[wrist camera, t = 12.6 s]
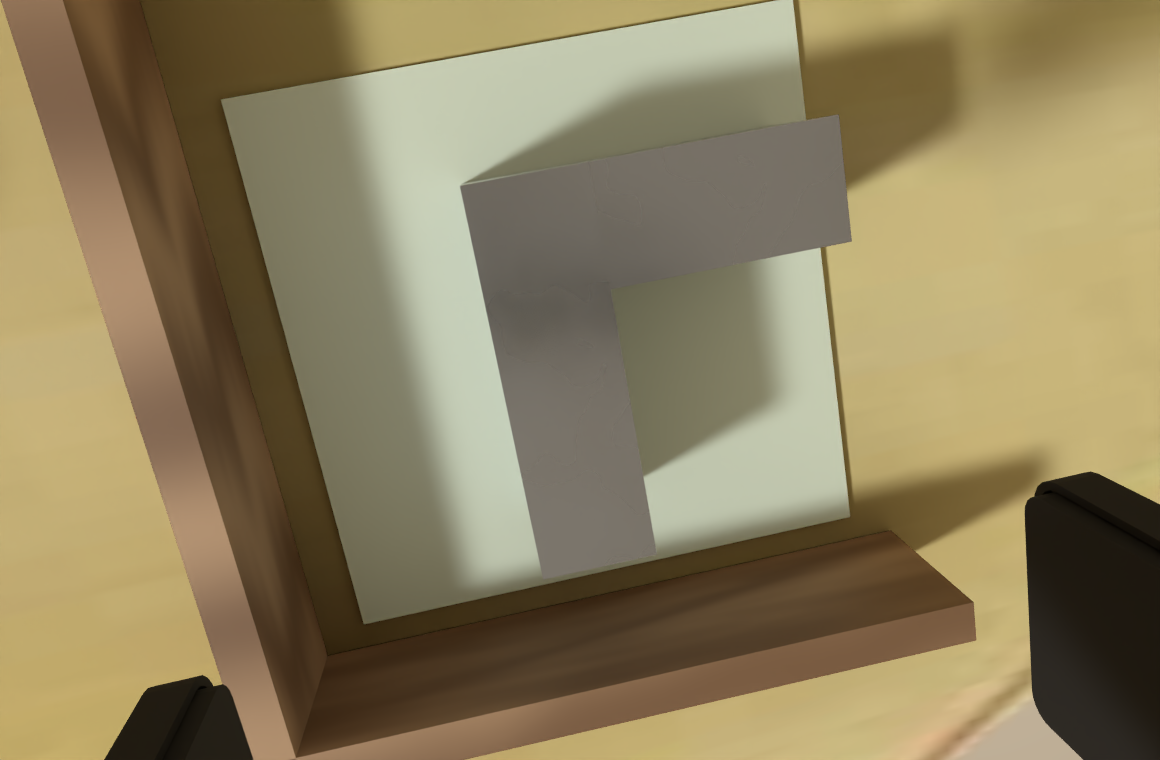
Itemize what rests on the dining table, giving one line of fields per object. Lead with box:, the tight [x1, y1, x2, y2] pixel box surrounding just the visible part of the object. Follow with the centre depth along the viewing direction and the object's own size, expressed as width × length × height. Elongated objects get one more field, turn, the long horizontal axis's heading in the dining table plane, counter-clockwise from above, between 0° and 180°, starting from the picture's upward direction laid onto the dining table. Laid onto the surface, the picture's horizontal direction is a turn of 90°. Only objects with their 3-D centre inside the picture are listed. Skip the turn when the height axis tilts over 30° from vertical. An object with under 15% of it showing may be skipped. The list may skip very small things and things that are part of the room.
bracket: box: [460, 114, 852, 580], centre depth 24 cm, size 10×9×5 cm
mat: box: [221, 0, 850, 624], centre depth 26 cm, size 16×16×1 cm
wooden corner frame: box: [1, 0, 976, 760], centre depth 23 cm, size 23×20×5 cm
